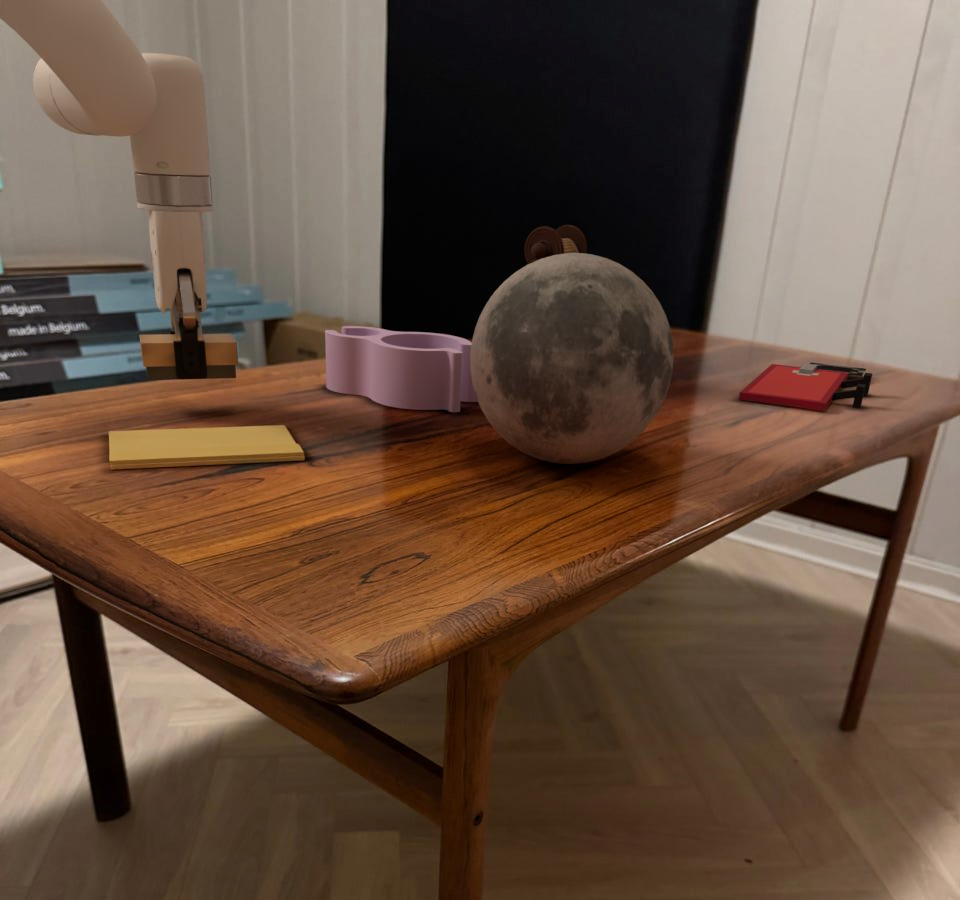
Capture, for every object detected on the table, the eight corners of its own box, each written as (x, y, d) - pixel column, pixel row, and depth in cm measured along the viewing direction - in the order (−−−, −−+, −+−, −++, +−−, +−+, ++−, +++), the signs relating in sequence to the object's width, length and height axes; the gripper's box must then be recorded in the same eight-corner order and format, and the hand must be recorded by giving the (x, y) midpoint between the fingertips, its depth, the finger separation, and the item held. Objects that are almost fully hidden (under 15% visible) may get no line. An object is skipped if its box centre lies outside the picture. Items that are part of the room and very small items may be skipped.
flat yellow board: (110, 469, 88) (109, 461, 88) (109, 435, 98) (108, 427, 98) (304, 460, 94) (304, 452, 94) (284, 428, 104) (284, 421, 104)
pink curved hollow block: (307, 391, 120) (305, 334, 116) (360, 375, 130) (360, 322, 127) (447, 416, 112) (450, 356, 109) (493, 397, 122) (496, 341, 119)
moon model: (447, 434, 105) (455, 239, 96) (617, 432, 110) (639, 246, 101) (491, 493, 88) (506, 262, 79) (690, 488, 93) (725, 269, 84)
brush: (145, 381, 103) (140, 343, 101) (143, 371, 107) (139, 334, 105) (239, 378, 106) (236, 341, 104) (234, 369, 110) (231, 333, 109)
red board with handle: (878, 376, 147) (779, 365, 153) (882, 357, 146) (782, 347, 152) (853, 417, 123) (738, 402, 129) (858, 396, 122) (741, 381, 128)
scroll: (568, 400, 123) (584, 232, 114) (471, 381, 130) (479, 222, 121) (615, 382, 135) (633, 228, 126) (524, 366, 141) (535, 219, 132)
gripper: (133, 188, 104) (151, 358, 113) (139, 198, 90) (159, 391, 98) (204, 190, 107) (216, 357, 115) (220, 201, 92) (233, 389, 101)
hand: (190, 371), depth 107 cm, fingers closed on brush, 5 cm apart
